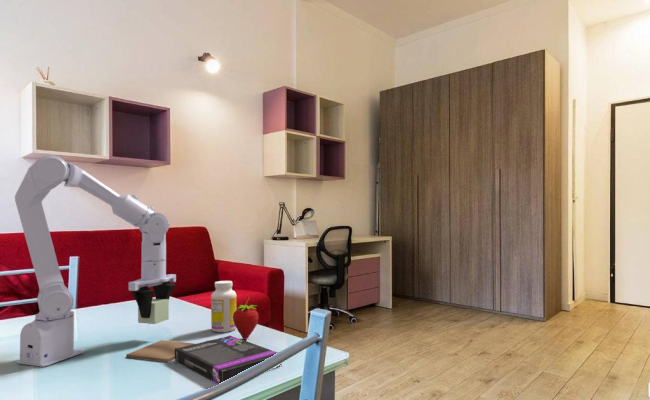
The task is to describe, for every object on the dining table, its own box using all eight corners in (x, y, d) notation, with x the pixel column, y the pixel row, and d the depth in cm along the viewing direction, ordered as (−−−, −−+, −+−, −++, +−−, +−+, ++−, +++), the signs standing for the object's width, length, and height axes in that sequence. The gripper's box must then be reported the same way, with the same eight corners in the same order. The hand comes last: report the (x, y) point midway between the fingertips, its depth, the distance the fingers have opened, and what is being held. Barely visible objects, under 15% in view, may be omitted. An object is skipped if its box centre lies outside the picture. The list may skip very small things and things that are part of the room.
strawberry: (248, 333, 108) (248, 294, 109) (263, 340, 103) (263, 299, 103) (228, 338, 105) (227, 297, 105) (242, 344, 99) (242, 302, 99)
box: (282, 371, 84) (230, 348, 98) (282, 353, 84) (231, 333, 98) (220, 390, 75) (173, 362, 89) (221, 370, 75) (173, 345, 89)
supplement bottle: (234, 325, 117) (234, 279, 117) (238, 331, 111) (238, 282, 111) (209, 328, 114) (209, 281, 115) (213, 334, 108) (212, 284, 109)
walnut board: (167, 362, 88) (167, 359, 88) (126, 357, 91) (126, 354, 91) (199, 346, 98) (199, 344, 98) (161, 342, 101) (161, 340, 101)
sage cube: (154, 324, 101) (154, 303, 101) (138, 322, 103) (138, 302, 103) (168, 319, 106) (168, 299, 106) (152, 317, 107) (152, 298, 108)
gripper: (145, 264, 97) (145, 323, 96) (185, 258, 110) (185, 309, 110) (121, 263, 99) (121, 321, 98) (163, 257, 113) (163, 308, 112)
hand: (153, 315), depth 104 cm, fingers closed on sage cube, 5 cm apart
